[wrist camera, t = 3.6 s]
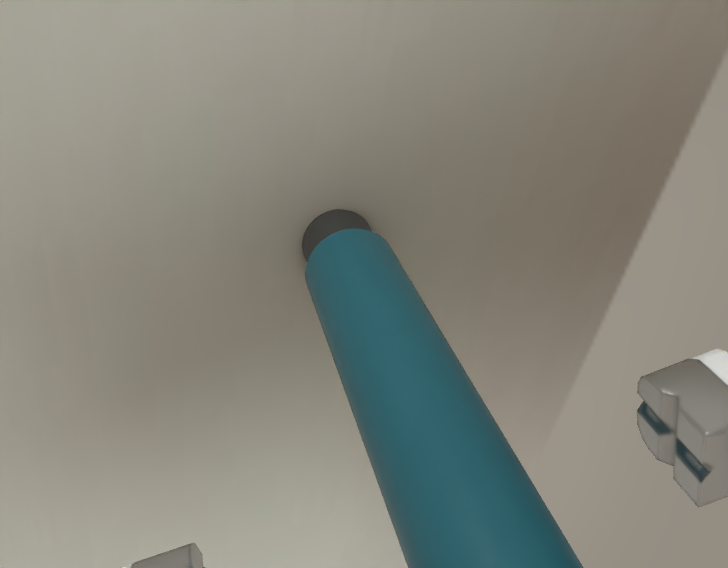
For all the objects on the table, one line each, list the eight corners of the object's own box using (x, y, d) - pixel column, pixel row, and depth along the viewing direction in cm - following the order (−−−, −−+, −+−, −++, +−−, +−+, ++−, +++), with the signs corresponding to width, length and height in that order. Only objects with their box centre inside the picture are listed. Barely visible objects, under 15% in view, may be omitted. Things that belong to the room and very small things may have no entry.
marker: (368, 191, 19) (652, 636, 8) (385, 263, 20) (647, 724, 10) (284, 218, 19) (463, 711, 8) (307, 288, 20) (485, 791, 9)
